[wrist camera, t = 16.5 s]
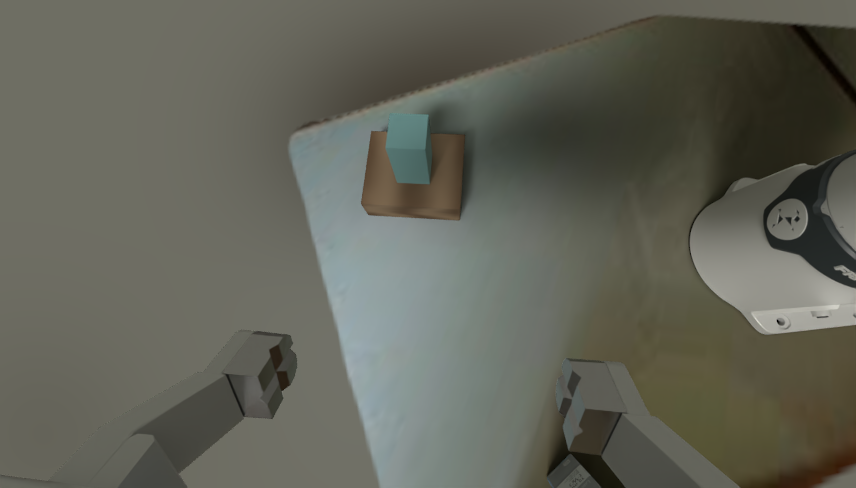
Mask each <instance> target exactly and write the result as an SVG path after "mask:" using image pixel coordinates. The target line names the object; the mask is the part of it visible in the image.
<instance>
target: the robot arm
mask: <svg viewBox="0 0 856 488" xmlns="http://www.w3.org/2000/svg"><path fill="white" fill-rule="evenodd" d="M690 251H691V256H692V259H693V262H694V265H695V267H696V269H697V271H698V273H699V275H700V276H701V278H702V279H703V280H704V282H705V283H706V284H707V285H708V287H709V288H710V289H711V290H712V291H713V292H715V293H716V294H717V295H718V296H719V297H721V298H722V299H723V300H725V301H726V302H728V303H729V304H731V305H733V306H734V307H736V308H737V309H738V310H739V311H741V312H742V314H743V315H744V316H745V317H746V319H747V320H748V321H749V322H750V324H751V325H752V326H753V327H754V328H755V329H756V330H757V331H759V332H760V333H762V334H766V335H770V334H779V333H788V332H797V331H806V330H815V329H823V328H832V327H841V326H850V325H856V150H852V151H849V152H847V153H845V154H842V155H837V156H835V157H832V158H830V159H827V160H825V161H823V162H821V163H819V164H818V165H816V166H814V165H807V164H805V163H803V164H797V165H794V166H792V167H789V168H787V169H784V170H782V171H779V172H777V173H775V174H772V175H770V176H767V177H765V178H762V179H760V180H757V179H752V178H742V179H739V180H737V181H735V182H733V183H732V184H731V186H730V187H729V188H728V190H727V192H726V193H725V195H724V196H723V197H722V198H721V199H719V200H717V201H716V202H714V203H712V204H710V205H709V206H707V207H706V208H705V209H704V210H703V211H702V212H701V213H700V214H699V215H698V217H697V218H696V220H695V222H694V224H693V227H692V230H691V235H690ZM777 320H778V321H779V324H778V323H777ZM292 344H293V342H292V339H291V336H290V335H287V334H278V333H270V332H261V331H250V330H239V331H238V332H236V333H235V334H234V335H233V336H232V338H231V339H230V340H229V341H228V342H227V344H226V345H225V346H224V347H223V349H222V350H221V351H220V352H219V353H218V355H217V356H216V357H215V358H214V360H213V361H212V362H211V363H210V364H209V366H208V367H207V368H206V369H205V370H204V372H197V373H195V374H193V375H192V376H190V377H188V378H187V379H185V380H183V381H181V382H179V383H177V384H176V385H174V386H172V387H170V388H169V389H167V390H165V391H163V392H162V393H160V394H158V395H156V396H154V397H153V398H151V399H149V400H147V401H146V402H144V403H142V404H140V405H138V406H137V407H135V408H133V409H131V410H129V411H128V412H126V413H124V414H122V415H121V416H119V417H117V418H115V419H113V420H112V421H110V422H108V423H106V424H105V425H103V426H101V427H100V428H99V429H98V430H97V431H96V432H95V433H94V434H93V435H92V436H91V437H90V438H89V439H88V440H87V441H86V442H85V443H84V444H83V445H82V446H81V447H80V448H79V449H78V450H77V451H76V452H75V453H74V454H73V455H72V456H71V457H70V458H69V459H68V461H66V462H65V463H64V464H63V466H62V467H61V468H60V469H59V470H58V471H57V472H56V473H55V474H54V475H53V476H52V477H51V478H50V479H49V480H48V481H45V480H37V479H30V478H22V477H14V476H6V475H0V488H187V485H186V484H185V482H184V481H183V479H182V478H181V476H180V475H179V473H180V472H181V471H183V470H184V469H185V468H186V467H187V466H189V465H190V464H191V463H192V462H193V461H194V460H196V458H198V457H199V456H200V455H202V454H203V453H204V452H205V451H206V450H207V449H209V448H210V447H211V446H212V445H213V444H215V443H216V442H217V441H218V440H219V439H220V438H222V437H223V436H224V435H225V434H226V433H228V432H229V431H230V430H231V429H232V428H233V427H235V426H236V425H237V424H238V423H239V422H241V421H242V420H243V419H244V417H253V418H265V419H266V418H267V419H273V417H274V415H275V413H276V411H277V409H278V408H279V406H280V404H281V402H282V400H283V395H282V391H283V390H284V389H286V388H287V387H288V386H290V385H291V383H292V381H293V379H294V376H295V373H296V369H297V358H296V354H295V353H294V352H293V351H292V350H291V349H290V348H291V346H292ZM562 371H563V375H562V376H560V377H559V378H558V381H557V385H556V401H557V406H558V410H559V413H560V414H561V415H562V416H563V417H564V418H565V421H564V424H563V430H564V434H565V438H566V442H567V446H568V450H569V451H572V452H580V453H587V454H595V455H602V459H603V460H604V461H605V462H606V464H607V465H608V466H609V467H610V469H611V470H612V471H613V472H614V474H615V475H616V476H617V477H618V479H619V480H620V481H621V482H622V484H623V485H624V486H625V487H626V488H740V487H739V486H738V485H737V484H735V483H734V482H733V481H732V480H731V479H729V478H728V477H727V476H726V475H725V474H724V473H722V472H721V471H720V470H719V469H718V468H716V467H715V466H714V465H713V464H712V463H711V462H709V461H708V460H707V459H706V458H705V457H703V456H702V455H701V454H700V453H699V452H697V451H696V450H695V449H694V448H693V447H692V446H690V445H689V444H688V443H687V442H686V441H684V440H683V439H682V438H681V437H680V436H679V435H677V434H676V433H675V432H674V431H673V430H671V429H670V428H669V427H668V426H667V425H666V424H664V423H663V422H662V421H661V420H660V419H658V418H657V417H654V416H650V414H649V412H648V410H647V408H646V406H645V404H644V402H643V400H642V398H641V396H640V394H639V392H638V390H637V389H636V387H635V385H634V383H633V381H632V379H631V377H630V375H629V373H628V371H627V369H626V367H625V365H624V364H623V363H621V362H608V361H597V360H584V359H571V358H566V359H565V360H564V361H563V364H562Z"/></svg>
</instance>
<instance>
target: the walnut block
mask: <svg viewBox="0 0 856 488" xmlns="http://www.w3.org/2000/svg"><path fill="white" fill-rule="evenodd" d="M430 136H431V146H432V165H431V176H430V184H413V183H397V181H396V178H395V175H394V172H393V169H392V166H391V163H390V160H389V157H388V154H387V151H386V148H385V147H386V139H387V132H379V131H371V137H370V144H369V151H368V158H367V165H366V173H365V180H364V187H363V194H362V201H361V204H362V206H363V207H364V209H365V210H366V212H367V213H368V215H375V216H392V217H410V218H427V219H444V220H460V208H461V192H462V176H463V160H464V144H465V135H459V134H432V133H430Z"/></svg>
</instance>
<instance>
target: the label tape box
mask: <svg viewBox="0 0 856 488" xmlns="http://www.w3.org/2000/svg"><path fill="white" fill-rule="evenodd" d="M547 479H548V481H549V483H550V484H551V486H552V487H553V488H602V487H601V486H600V485H599V484H598V483H597V482H596V480H595V479H594V478H593V477H592V476H591V475H590V474H589V473H588V472H587V471H586V469H585V468H584V467H583V466H582V465H581V464H580V463H579V462H578V461H577V460H576V458H575V457H573V455H572V454H570V455H568V456H567V457H566V458H565V459H564V460H563V461H562V462H561V463H560V464H559V465H558V466H557V467H556V468H555V469H554V470H553V471H552V472H551V473H550V474H549V475H548V476H547Z"/></svg>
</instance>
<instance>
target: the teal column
mask: <svg viewBox="0 0 856 488" xmlns="http://www.w3.org/2000/svg"><path fill="white" fill-rule="evenodd" d="M385 148H386V151H387V154H388V157H389V160H390V163H391V166H392V169H393V172H394V175H395V178H396V181H397V183H413V184H430V176H431V165H432V146H431V136H430V125H429V115H427V114H396V113H390V115H389V123H388V131H387V139H386V147H385Z"/></svg>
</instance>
